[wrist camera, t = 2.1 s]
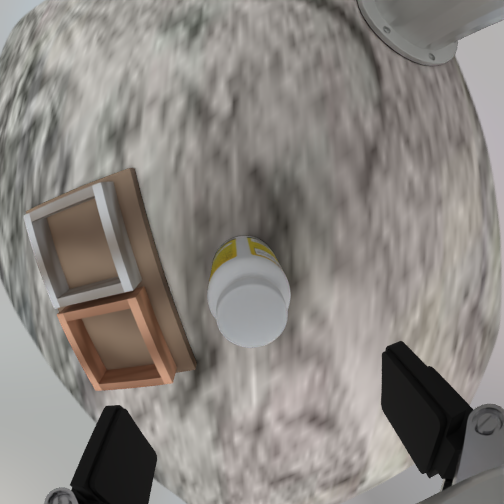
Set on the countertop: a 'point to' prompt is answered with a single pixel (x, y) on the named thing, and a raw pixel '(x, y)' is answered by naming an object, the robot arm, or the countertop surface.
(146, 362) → the board
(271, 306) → the supplement bottle
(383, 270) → the countertop surface
